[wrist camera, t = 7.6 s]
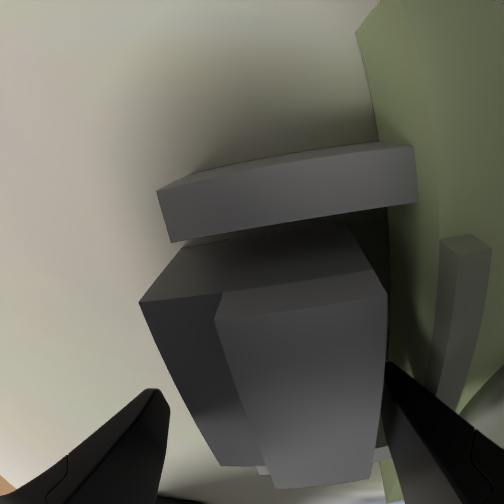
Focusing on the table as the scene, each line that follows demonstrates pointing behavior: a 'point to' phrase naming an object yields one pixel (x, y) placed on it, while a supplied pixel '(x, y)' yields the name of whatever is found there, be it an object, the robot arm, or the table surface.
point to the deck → (405, 198)
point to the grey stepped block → (277, 350)
